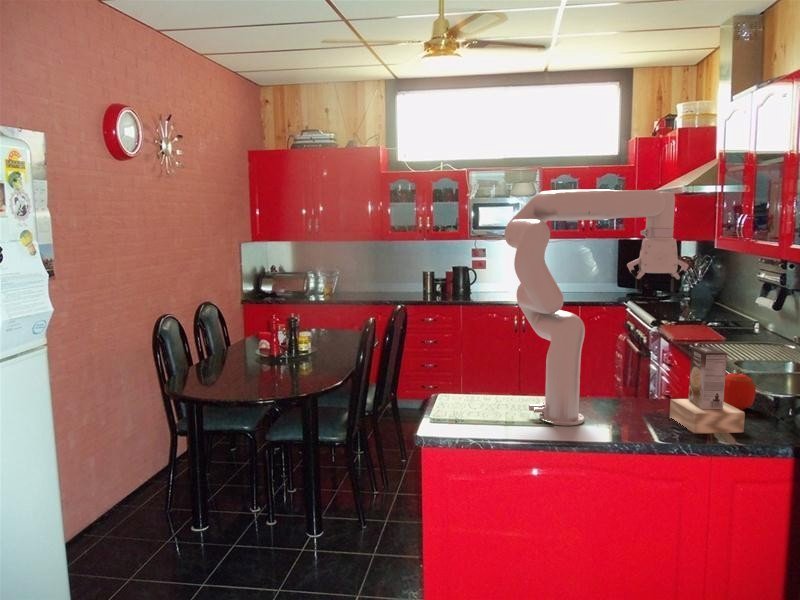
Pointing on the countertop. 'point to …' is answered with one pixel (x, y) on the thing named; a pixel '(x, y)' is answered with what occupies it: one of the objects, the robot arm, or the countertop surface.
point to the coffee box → (707, 377)
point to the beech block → (707, 417)
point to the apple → (739, 391)
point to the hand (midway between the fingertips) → (656, 292)
